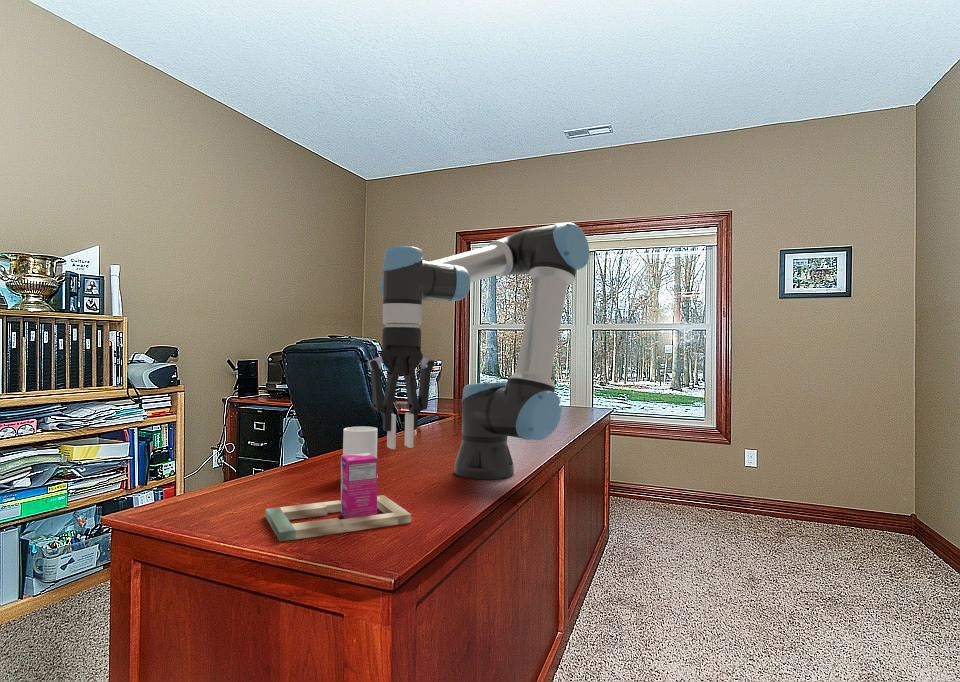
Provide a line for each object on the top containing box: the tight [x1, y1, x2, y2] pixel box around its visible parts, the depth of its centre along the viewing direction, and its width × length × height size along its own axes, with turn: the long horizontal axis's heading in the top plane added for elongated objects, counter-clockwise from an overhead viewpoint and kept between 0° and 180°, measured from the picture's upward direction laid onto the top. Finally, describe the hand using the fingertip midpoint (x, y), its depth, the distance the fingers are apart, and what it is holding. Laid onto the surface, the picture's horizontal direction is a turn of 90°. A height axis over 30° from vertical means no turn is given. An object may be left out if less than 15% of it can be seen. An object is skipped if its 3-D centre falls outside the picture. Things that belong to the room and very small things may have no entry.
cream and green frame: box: [265, 494, 412, 542], centre depth 106 cm, size 23×15×2 cm, turn 119°
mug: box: [342, 426, 379, 479], centre depth 141 cm, size 12×8×12 cm
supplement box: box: [340, 453, 378, 519], centre depth 108 cm, size 6×6×12 cm
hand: (400, 447), depth 112 cm, fingers open, 3 cm apart
